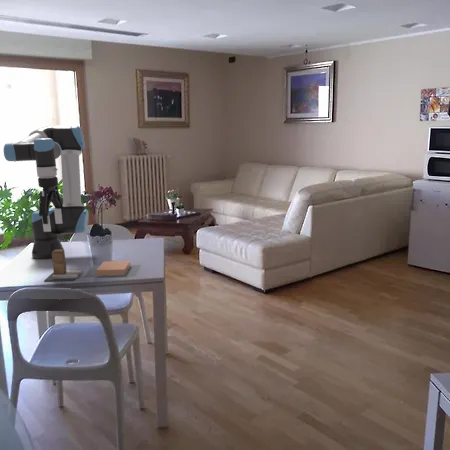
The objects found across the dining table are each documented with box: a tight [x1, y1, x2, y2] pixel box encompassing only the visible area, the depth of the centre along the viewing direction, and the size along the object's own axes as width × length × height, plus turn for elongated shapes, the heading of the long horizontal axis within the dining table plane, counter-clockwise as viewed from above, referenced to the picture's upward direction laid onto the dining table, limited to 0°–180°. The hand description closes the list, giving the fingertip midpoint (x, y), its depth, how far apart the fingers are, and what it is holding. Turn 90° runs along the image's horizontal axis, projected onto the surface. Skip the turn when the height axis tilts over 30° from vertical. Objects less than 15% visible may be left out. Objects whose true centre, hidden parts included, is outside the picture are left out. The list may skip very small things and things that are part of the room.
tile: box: [97, 260, 132, 276], centre depth 206 cm, size 12×2×12 cm
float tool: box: [51, 249, 83, 279], centre depth 199 cm, size 8×10×11 cm
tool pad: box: [43, 271, 76, 283], centre depth 200 cm, size 12×12×1 cm
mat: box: [83, 264, 142, 278], centre depth 206 cm, size 15×22×1 cm
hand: (53, 227), depth 196 cm, fingers open, 13 cm apart
